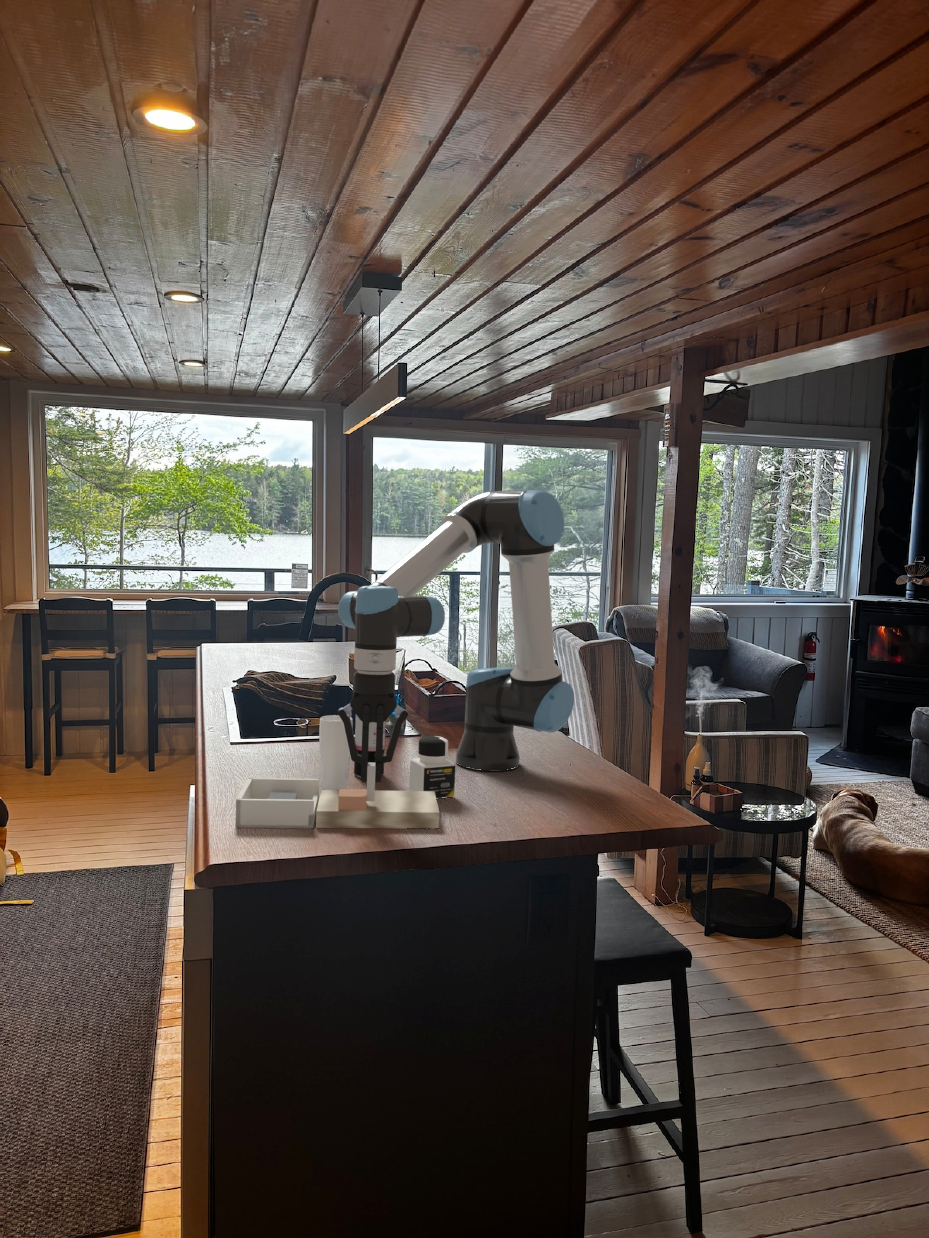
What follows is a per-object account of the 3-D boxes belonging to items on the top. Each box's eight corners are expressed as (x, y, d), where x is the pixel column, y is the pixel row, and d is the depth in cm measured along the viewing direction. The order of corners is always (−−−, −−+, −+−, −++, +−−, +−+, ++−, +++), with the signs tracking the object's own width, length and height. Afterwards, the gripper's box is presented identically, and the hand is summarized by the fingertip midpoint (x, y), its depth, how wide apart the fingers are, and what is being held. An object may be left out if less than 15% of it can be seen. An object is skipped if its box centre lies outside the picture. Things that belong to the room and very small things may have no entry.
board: (433, 806, 172) (434, 791, 172) (438, 828, 158) (439, 812, 158) (321, 804, 170) (321, 789, 170) (315, 827, 156) (316, 811, 156)
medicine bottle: (423, 801, 176) (425, 742, 175) (408, 792, 182) (410, 735, 181) (454, 798, 179) (457, 740, 178) (439, 789, 185) (441, 733, 184)
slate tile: (270, 791, 167) (270, 804, 167) (267, 799, 162) (267, 812, 162) (297, 792, 167) (296, 805, 168) (294, 799, 162) (294, 812, 163)
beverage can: (347, 774, 194) (349, 707, 193) (370, 770, 199) (372, 704, 197) (367, 780, 189) (369, 712, 188) (389, 775, 194) (392, 709, 193)
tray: (318, 804, 171) (319, 778, 170) (312, 828, 156) (313, 800, 155) (247, 803, 169) (248, 777, 169) (235, 827, 154) (236, 799, 154)
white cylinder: (356, 787, 183) (358, 716, 182) (341, 795, 177) (343, 722, 176) (327, 783, 186) (329, 713, 184) (311, 791, 179) (313, 719, 178)
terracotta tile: (366, 802, 163) (366, 789, 163) (366, 810, 158) (366, 796, 158) (339, 802, 162) (339, 788, 162) (338, 810, 157) (338, 796, 157)
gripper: (337, 673, 154) (333, 804, 156) (411, 675, 155) (406, 805, 157) (339, 667, 162) (335, 793, 163) (409, 669, 163) (405, 793, 165)
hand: (370, 799), depth 160 cm, fingers closed
